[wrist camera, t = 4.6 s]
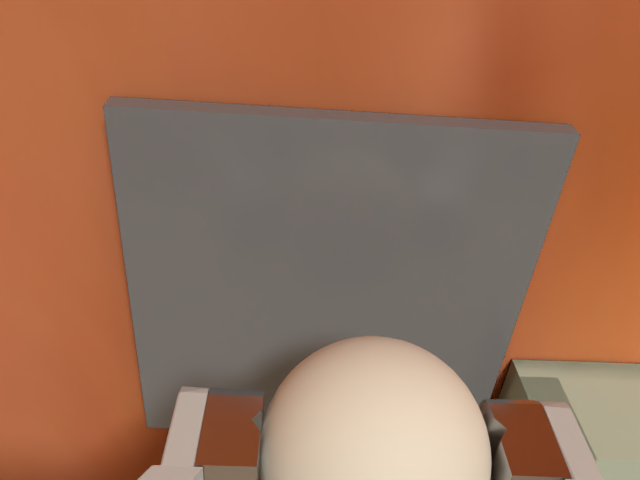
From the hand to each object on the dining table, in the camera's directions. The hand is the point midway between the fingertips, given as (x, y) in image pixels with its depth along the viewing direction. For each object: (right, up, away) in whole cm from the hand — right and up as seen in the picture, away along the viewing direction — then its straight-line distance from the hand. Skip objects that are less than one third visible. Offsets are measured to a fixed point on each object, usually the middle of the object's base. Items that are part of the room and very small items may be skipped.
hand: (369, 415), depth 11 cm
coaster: (-1, +2, +3) cm, 4 cm away
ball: (0, +1, +1) cm, 1 cm away
